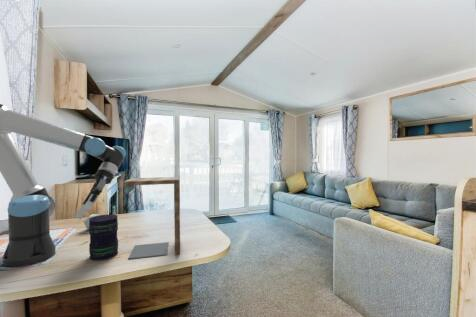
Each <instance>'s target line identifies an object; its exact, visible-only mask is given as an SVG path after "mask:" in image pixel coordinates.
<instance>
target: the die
mask: <svg viewBox="0 0 476 317" xmlns="http://www.w3.org/2000/svg"><path fill="white" fill-rule="evenodd" d="M100 215H101V214H99V213H98V214H94V213H93V214H90V215H89V216H88V217H86V218H85V220H83V224H84V226H85V228H86V230H87V231H89V223H90V222H89V219H90V218H92V217H95V216H100Z"/></svg>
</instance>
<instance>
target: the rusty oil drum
mask: <svg viewBox="0 0 476 317" xmlns="http://www.w3.org/2000/svg"><path fill="white" fill-rule="evenodd" d="M118 221H119V219H118V215H117V214H111V213H110V214H100V216H95V217H92V218H90V219H89V222H90V223H89V230H88V234H89V248H88V253H89V260H90V261H93V262H100V261H101V262H102V261H106V260H109V259H112V258H115V257H116V256H118V254H119V251H118V250H119V239H118V230H119V222H118Z"/></svg>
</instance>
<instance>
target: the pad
mask: <svg viewBox="0 0 476 317" xmlns="http://www.w3.org/2000/svg"><path fill="white" fill-rule="evenodd" d="M168 250H169V242H168V241H166V242H155V243H145V244H136V245H134V246H133V248H132V250H131V252H130V254H129V256H128V257H127V260H135V259H143V258H144V259H145V258H153V257H162V256H167V255H168Z"/></svg>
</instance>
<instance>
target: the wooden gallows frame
mask: <svg viewBox="0 0 476 317" xmlns="http://www.w3.org/2000/svg"><path fill="white" fill-rule="evenodd" d="M152 185H154V186H155V185H173V189H174V190H173V195H174V196H173V206H174V207H173V211H174V212H173V213H174V255H175V256H176V255H181V216H180V215H181V210H180V209H181V207H180V205H181V204H180V202H181V201H180V200H181V198H180V197H181V196H180V194H181V190H180V176H161V177H131V178H129V179H126V180H124V181H123V194H125V195H126V194H129V193H131V192H132V191H133V190H135V189H136V186H152Z"/></svg>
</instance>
